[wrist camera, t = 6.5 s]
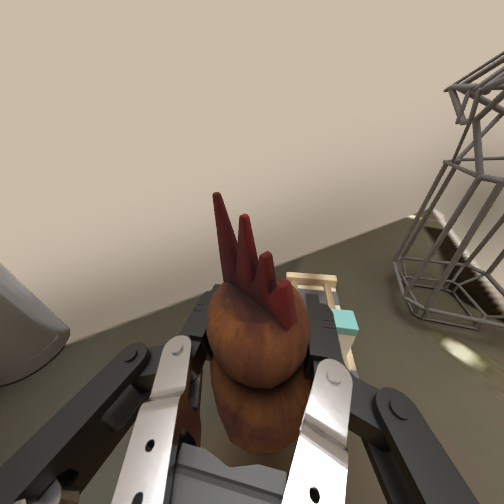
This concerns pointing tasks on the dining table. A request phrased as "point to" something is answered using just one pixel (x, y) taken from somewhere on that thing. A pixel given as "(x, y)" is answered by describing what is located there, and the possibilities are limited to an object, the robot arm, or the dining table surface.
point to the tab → (345, 329)
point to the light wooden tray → (321, 297)
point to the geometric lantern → (496, 81)
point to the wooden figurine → (256, 344)
